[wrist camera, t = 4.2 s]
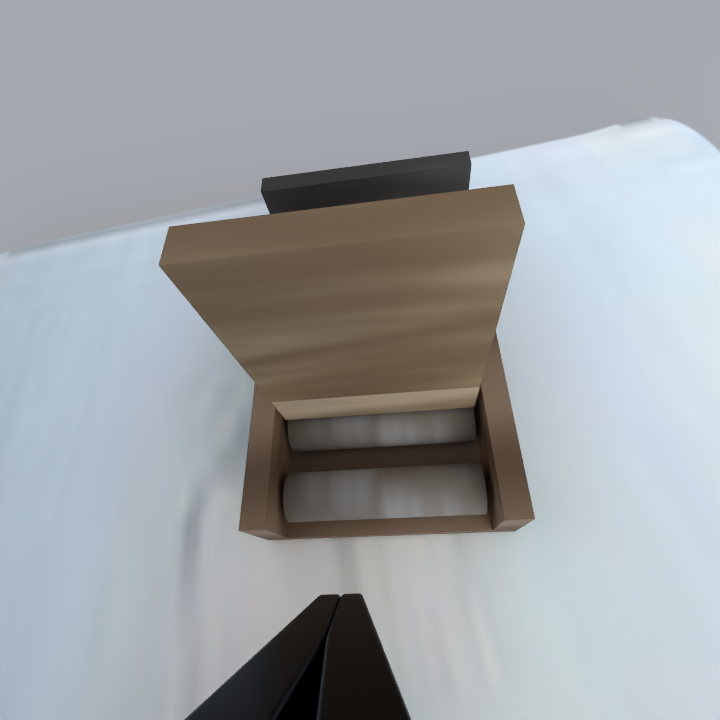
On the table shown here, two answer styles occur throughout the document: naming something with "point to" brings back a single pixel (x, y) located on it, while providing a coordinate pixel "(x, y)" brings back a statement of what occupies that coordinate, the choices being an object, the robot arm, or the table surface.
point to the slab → (356, 298)
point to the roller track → (478, 451)
